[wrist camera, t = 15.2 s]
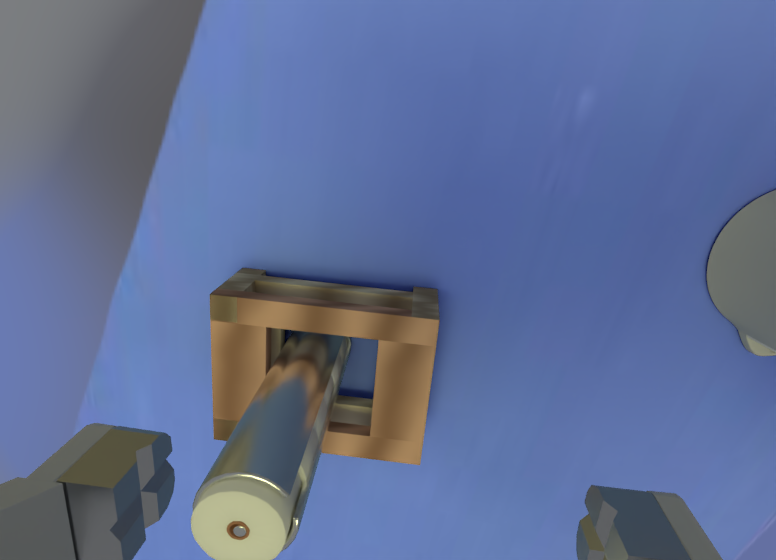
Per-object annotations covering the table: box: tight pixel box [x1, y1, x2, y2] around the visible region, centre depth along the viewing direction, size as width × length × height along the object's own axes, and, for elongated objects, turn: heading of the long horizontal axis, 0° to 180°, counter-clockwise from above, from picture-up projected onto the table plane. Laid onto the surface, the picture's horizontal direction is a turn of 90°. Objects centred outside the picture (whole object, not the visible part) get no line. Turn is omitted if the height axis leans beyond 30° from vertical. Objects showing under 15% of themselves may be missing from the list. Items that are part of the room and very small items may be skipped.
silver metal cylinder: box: [191, 330, 351, 560], centre depth 40 cm, size 6×6×25 cm
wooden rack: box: [210, 268, 440, 465], centre depth 48 cm, size 20×15×8 cm
